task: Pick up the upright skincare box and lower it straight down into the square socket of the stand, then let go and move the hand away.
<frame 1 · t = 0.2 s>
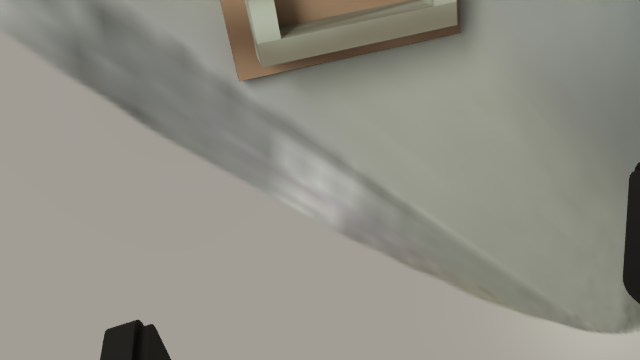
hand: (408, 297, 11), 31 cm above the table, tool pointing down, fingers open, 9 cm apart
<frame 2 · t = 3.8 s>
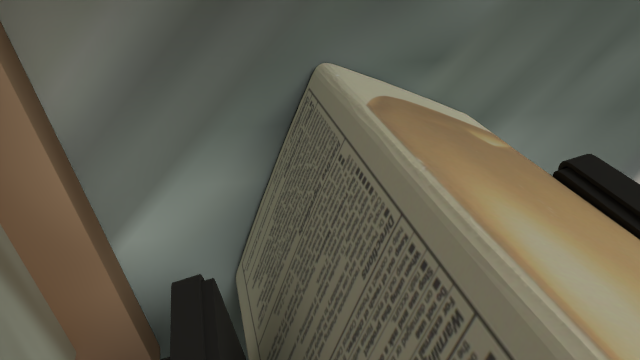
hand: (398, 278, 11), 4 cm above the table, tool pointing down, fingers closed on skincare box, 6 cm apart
skincare box: (347, 186, 15), on the table, touching gripper
when the fingers open (6 cm above the table, at t = 11.1 s): skincare box drops 1 cm, resting on socket stand.
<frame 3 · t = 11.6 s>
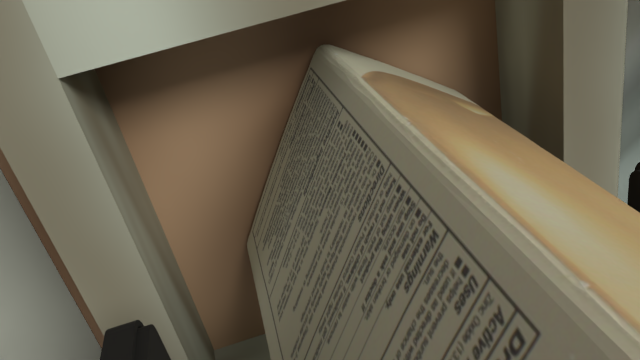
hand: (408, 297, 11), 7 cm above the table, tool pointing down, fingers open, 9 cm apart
socket stand: (327, 152, 17), on the table
skincare box: (348, 159, 16), point 1 cm above the table, touching socket stand
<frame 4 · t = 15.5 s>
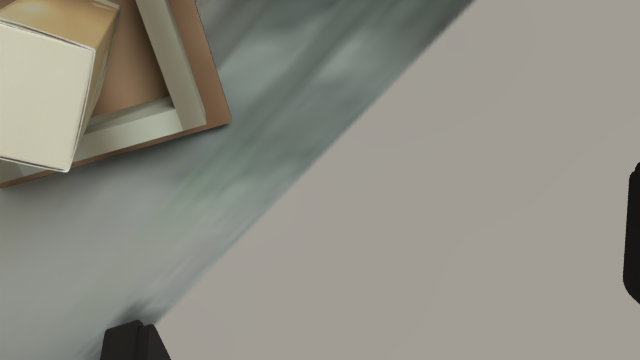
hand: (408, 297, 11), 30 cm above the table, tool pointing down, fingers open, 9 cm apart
socket stand: (71, 37, 36), on the table
skincare box: (75, 38, 35), point 1 cm above the table, touching socket stand
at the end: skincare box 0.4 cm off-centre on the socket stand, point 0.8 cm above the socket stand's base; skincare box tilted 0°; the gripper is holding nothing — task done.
